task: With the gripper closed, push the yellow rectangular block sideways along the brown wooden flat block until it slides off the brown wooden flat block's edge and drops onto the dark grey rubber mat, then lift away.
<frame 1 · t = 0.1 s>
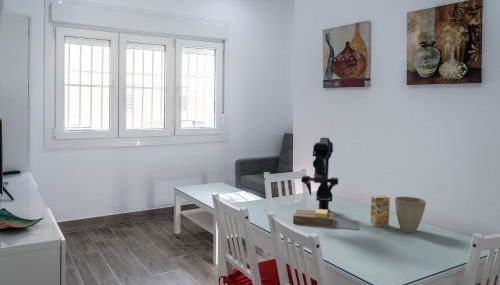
hand: (319, 196, 224), 15 cm above the table, fingers open, 9 cm apart
plant pot: (408, 230, 217), on the table
brown wooden flat block: (313, 221, 228), on the table
yellow rectangular block: (321, 215, 227), point 4 cm above the table, touching brown wooden flat block
candy box: (379, 225, 225), on the table
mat: (346, 224, 224), on the table
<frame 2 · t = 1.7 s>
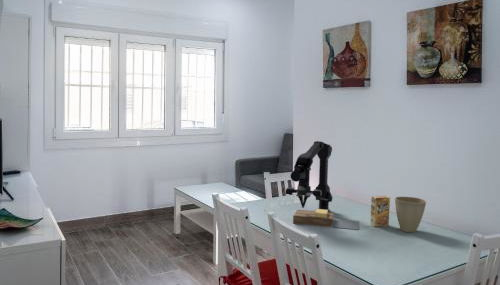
hand: (303, 207, 229), 7 cm above the table, fingers closed
nothing on the table moved.
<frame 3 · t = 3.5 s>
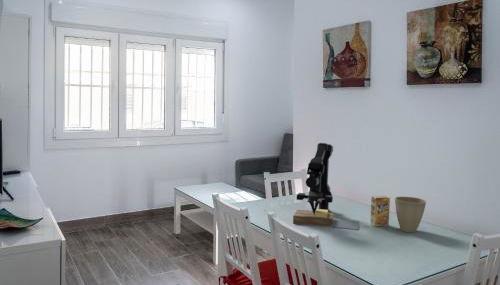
hand: (314, 213, 228), 4 cm above the table, fingers closed
yellow rectangular block: (321, 215, 227), point 4 cm above the table, touching brown wooden flat block, gripper
everything else where it was.
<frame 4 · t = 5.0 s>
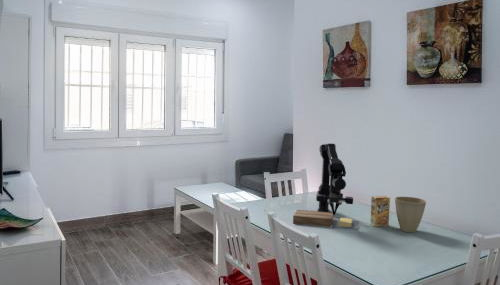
hand: (334, 215, 225), 5 cm above the table, fingers closed
yellow rectangular block: (345, 220, 224), point 2 cm above the table, tilted 180°, touching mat
everything else where it was.
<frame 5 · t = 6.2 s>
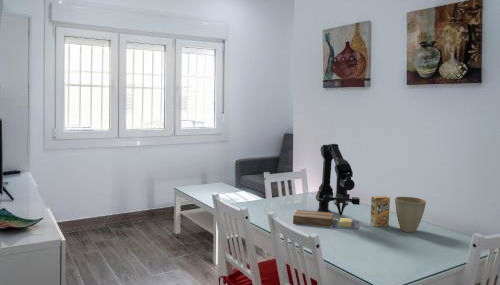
hand: (340, 215, 224), 5 cm above the table, fingers closed
nothing on the table moved.
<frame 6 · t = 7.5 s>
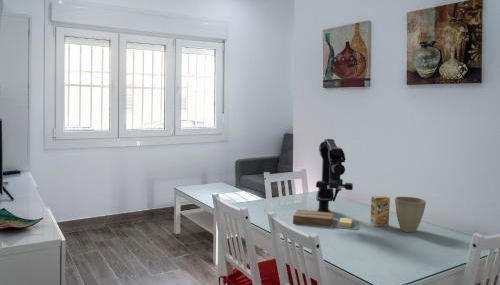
hand: (333, 201, 225), 12 cm above the table, fingers closed
nothing on the table moved.
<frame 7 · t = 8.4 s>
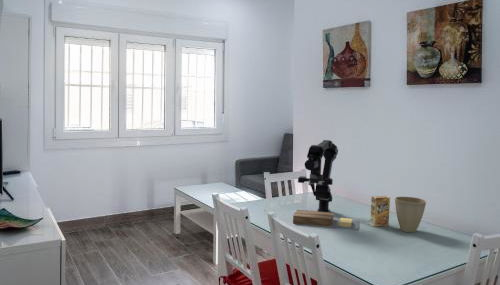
hand: (314, 195, 237), 12 cm above the table, fingers closed
nothing on the table moved.
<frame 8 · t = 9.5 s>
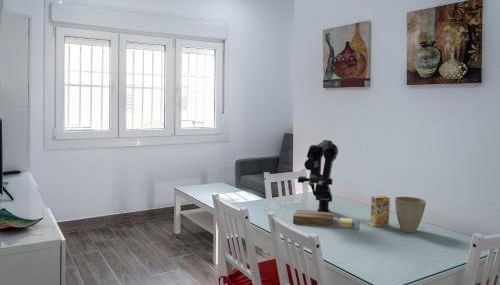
hand: (314, 195, 237), 12 cm above the table, fingers closed
nothing on the table moved.
at the end: yellow rectangular block point 2.4 cm above the table; yellow rectangular block inside the target area on the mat (0.4 cm from its centre), point 2.4 cm above the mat's base; yellow rectangular block touching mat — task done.
